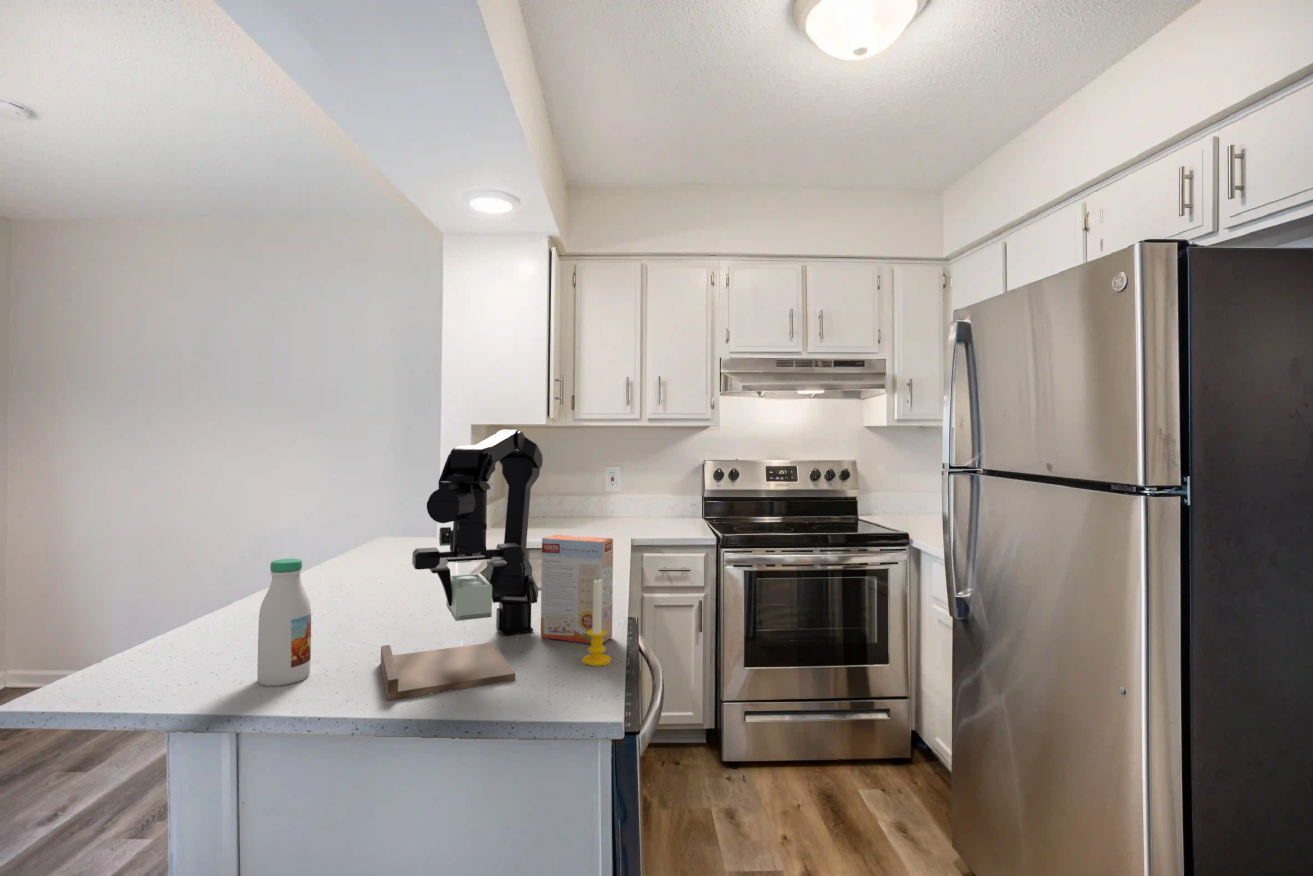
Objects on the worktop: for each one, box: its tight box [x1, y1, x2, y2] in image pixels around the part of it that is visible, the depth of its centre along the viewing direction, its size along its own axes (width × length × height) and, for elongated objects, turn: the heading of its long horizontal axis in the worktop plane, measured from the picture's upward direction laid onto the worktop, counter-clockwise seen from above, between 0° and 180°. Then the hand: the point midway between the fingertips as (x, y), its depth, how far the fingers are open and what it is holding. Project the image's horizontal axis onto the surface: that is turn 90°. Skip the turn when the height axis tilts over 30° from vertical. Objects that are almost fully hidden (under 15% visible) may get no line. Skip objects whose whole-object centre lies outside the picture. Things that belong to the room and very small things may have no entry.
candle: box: [582, 579, 612, 667], centre depth 116 cm, size 5×5×16 cm
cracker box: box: [540, 534, 614, 644], centre depth 130 cm, size 14×6×21 cm, turn 71°
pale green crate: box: [445, 573, 493, 622], centre depth 112 cm, size 6×11×6 cm, turn 26°
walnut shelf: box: [380, 642, 516, 702], centre depth 110 cm, size 20×18×3 cm
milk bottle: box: [257, 557, 312, 687], centre depth 106 cm, size 8×8×20 cm
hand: (468, 603), depth 112 cm, fingers closed on pale green crate, 6 cm apart
